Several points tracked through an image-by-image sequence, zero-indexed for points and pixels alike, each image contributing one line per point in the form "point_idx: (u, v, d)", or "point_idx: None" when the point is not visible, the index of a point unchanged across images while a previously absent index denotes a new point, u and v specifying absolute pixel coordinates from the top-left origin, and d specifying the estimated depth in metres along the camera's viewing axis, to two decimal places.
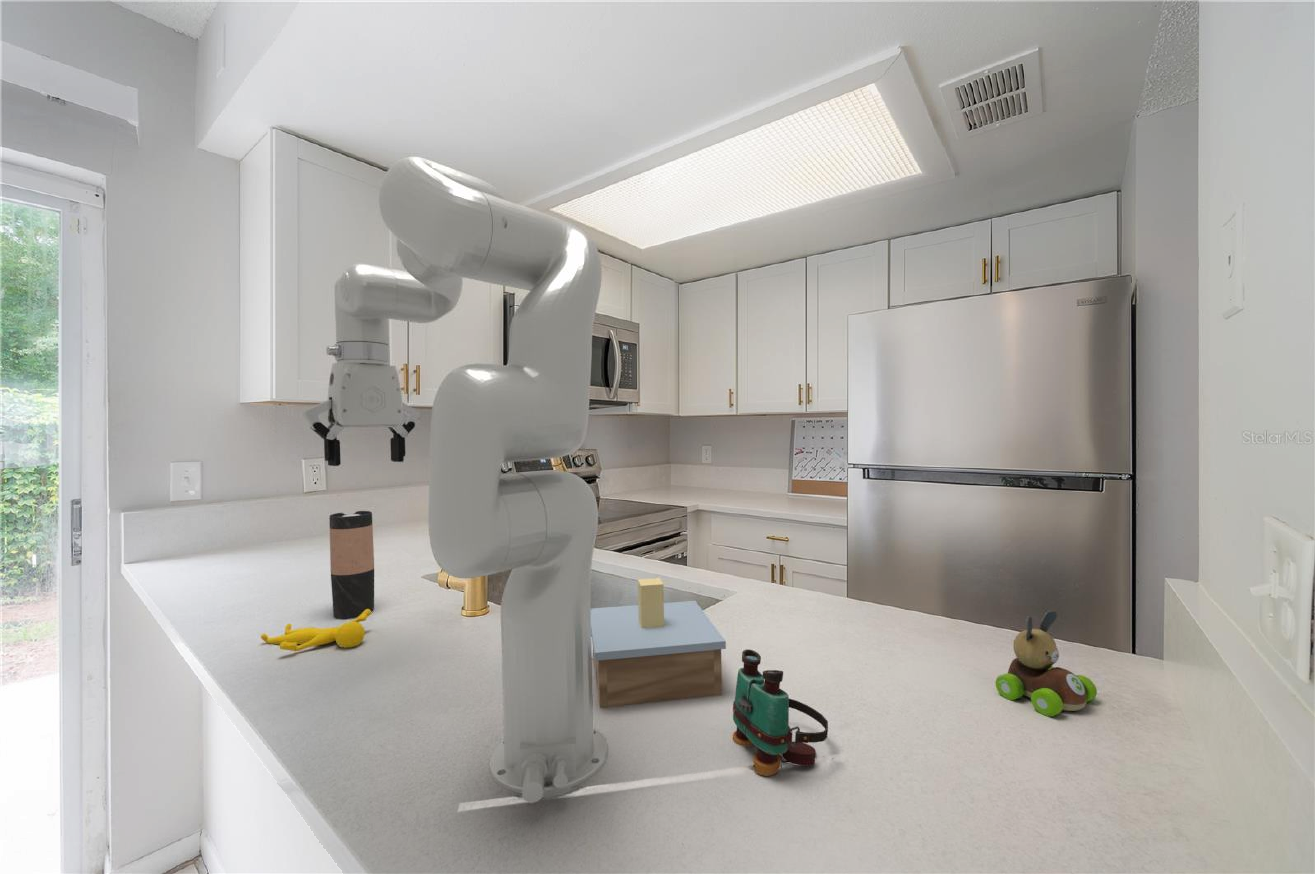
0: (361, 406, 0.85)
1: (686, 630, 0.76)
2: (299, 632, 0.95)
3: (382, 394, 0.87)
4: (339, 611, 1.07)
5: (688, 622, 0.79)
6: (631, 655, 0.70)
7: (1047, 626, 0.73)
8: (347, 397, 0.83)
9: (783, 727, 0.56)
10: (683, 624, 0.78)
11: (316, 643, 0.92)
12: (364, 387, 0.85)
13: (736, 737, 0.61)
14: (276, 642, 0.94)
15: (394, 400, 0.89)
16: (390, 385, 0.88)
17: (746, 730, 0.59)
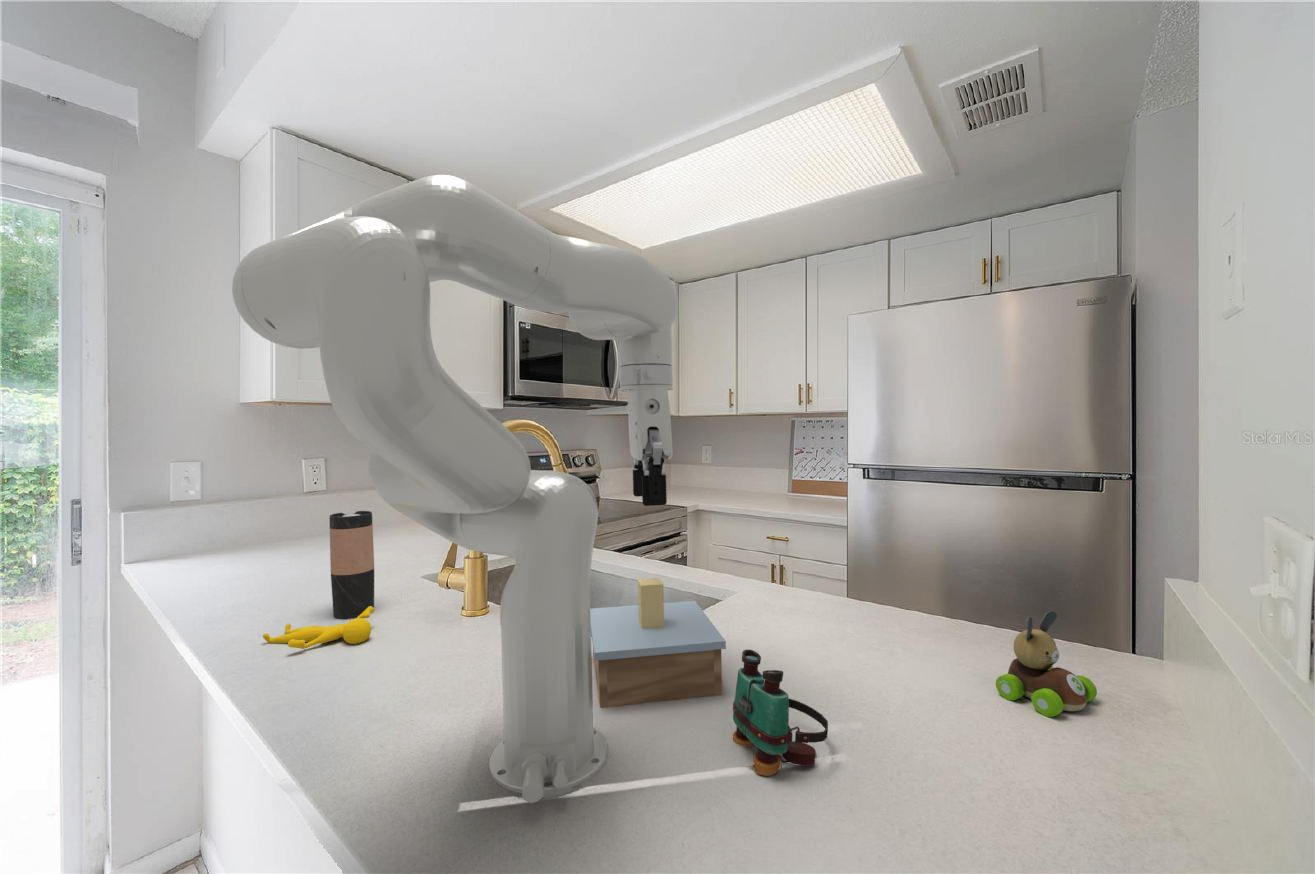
0: None
1: (686, 630, 0.76)
2: (303, 630, 0.95)
3: None
4: (339, 611, 1.07)
5: (688, 622, 0.79)
6: (631, 655, 0.70)
7: (1047, 626, 0.73)
8: None
9: (783, 727, 0.56)
10: (683, 624, 0.78)
11: (323, 640, 0.93)
12: None
13: (736, 737, 0.61)
14: (279, 641, 0.95)
15: None
16: None
17: (746, 730, 0.59)
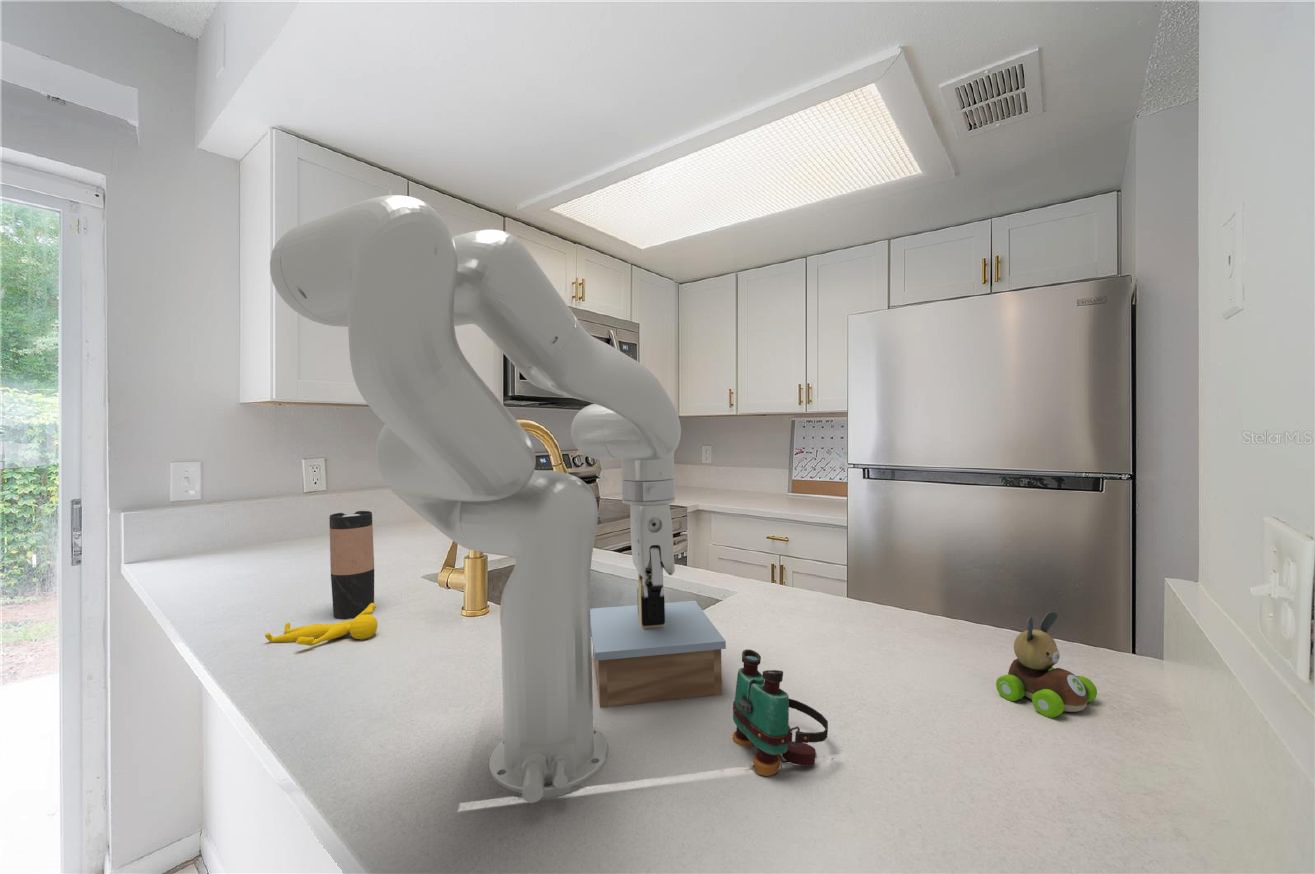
0: None
1: (686, 630, 0.76)
2: (307, 628, 0.96)
3: None
4: (339, 611, 1.07)
5: (688, 622, 0.79)
6: (631, 655, 0.70)
7: (1047, 627, 0.72)
8: None
9: (783, 727, 0.56)
10: (683, 624, 0.78)
11: (331, 636, 0.94)
12: None
13: (736, 737, 0.61)
14: (282, 640, 0.95)
15: None
16: None
17: (746, 730, 0.59)
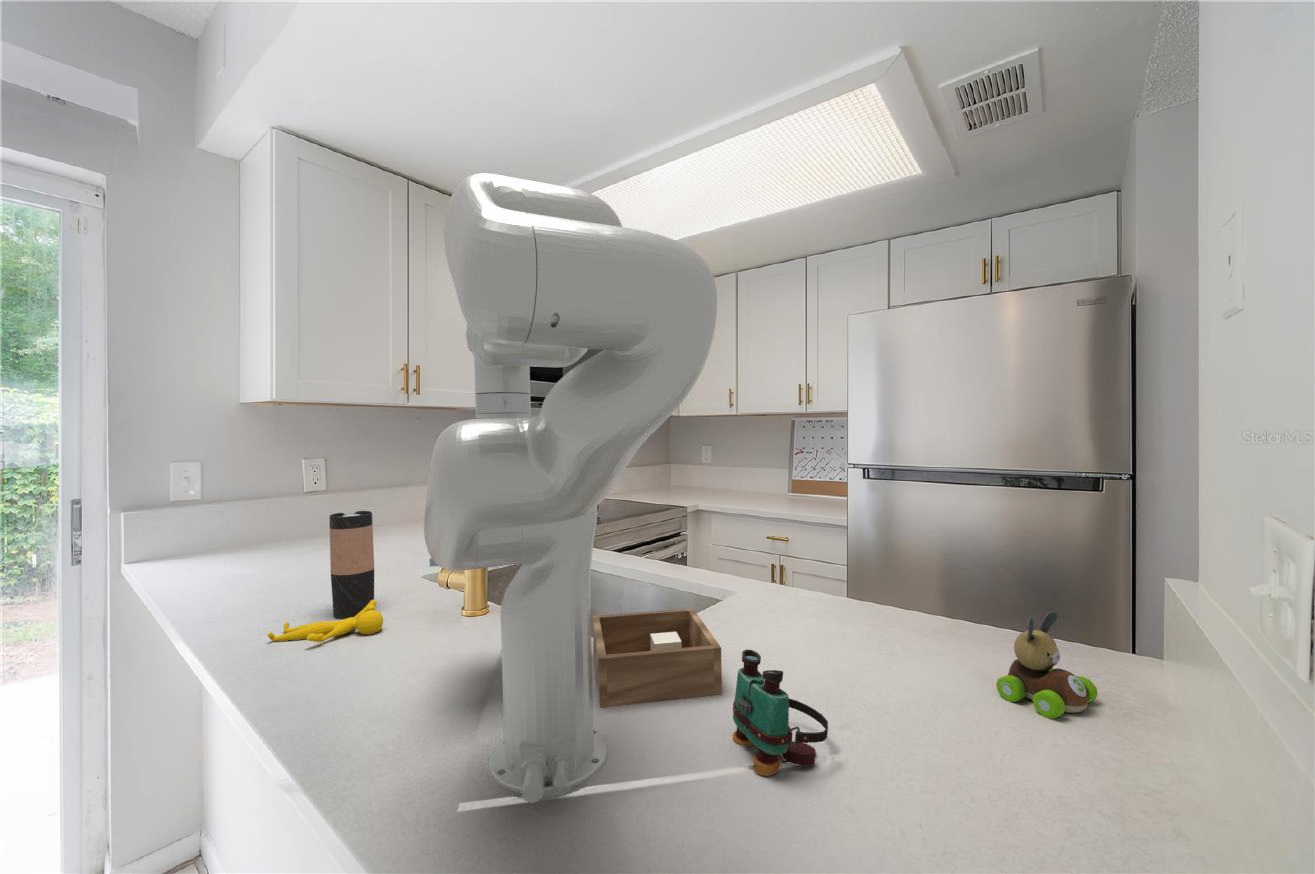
0: None
1: None
2: (312, 626, 0.97)
3: None
4: (339, 611, 1.07)
5: None
6: None
7: (1048, 627, 0.72)
8: None
9: (783, 727, 0.56)
10: None
11: (338, 633, 0.96)
12: None
13: (736, 737, 0.61)
14: (286, 639, 0.96)
15: None
16: None
17: (746, 730, 0.59)
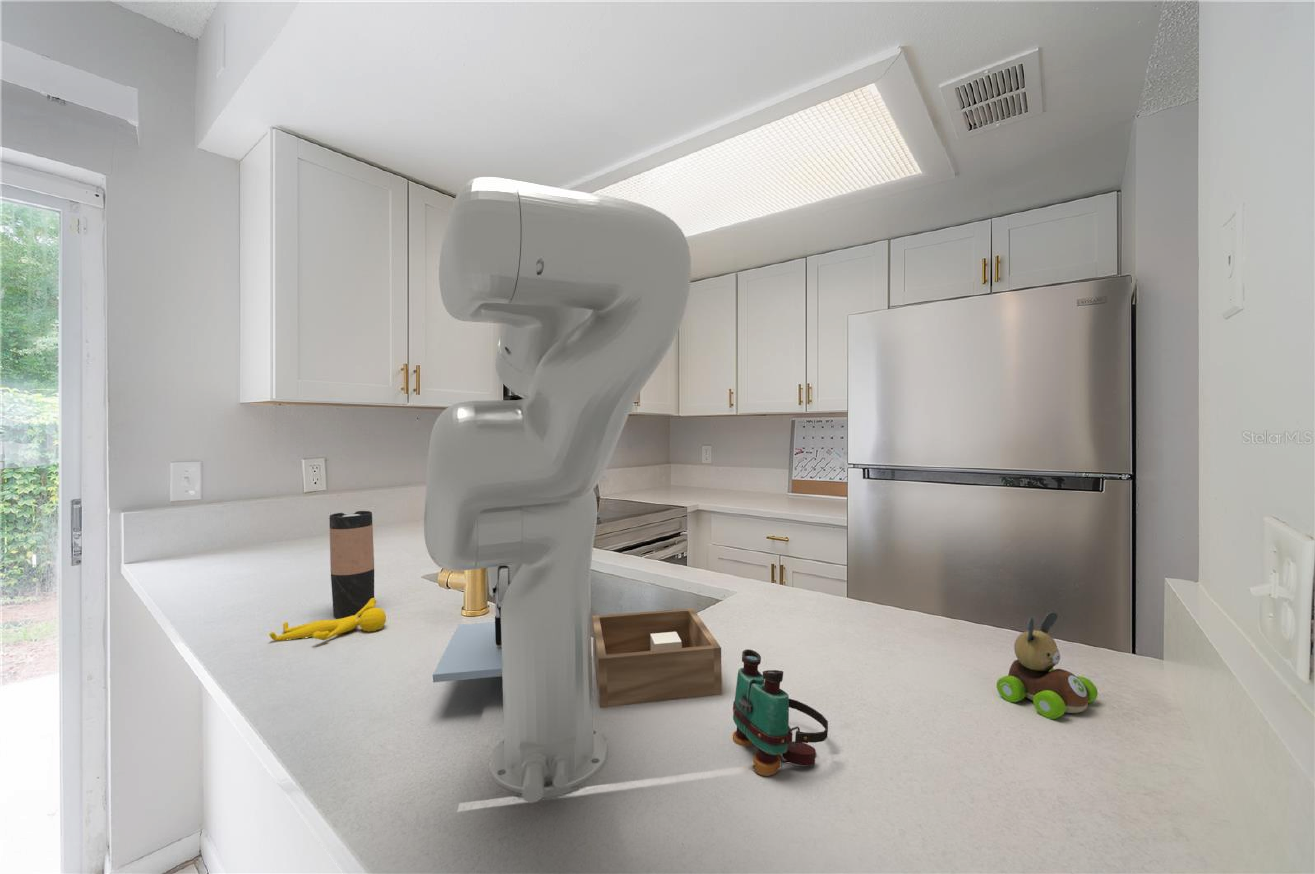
0: None
1: None
2: (314, 625, 0.98)
3: None
4: (339, 611, 1.07)
5: None
6: (471, 677, 0.70)
7: (1048, 627, 0.72)
8: None
9: (783, 727, 0.56)
10: None
11: (342, 630, 0.97)
12: None
13: (736, 737, 0.61)
14: (288, 638, 0.96)
15: None
16: None
17: (746, 730, 0.59)
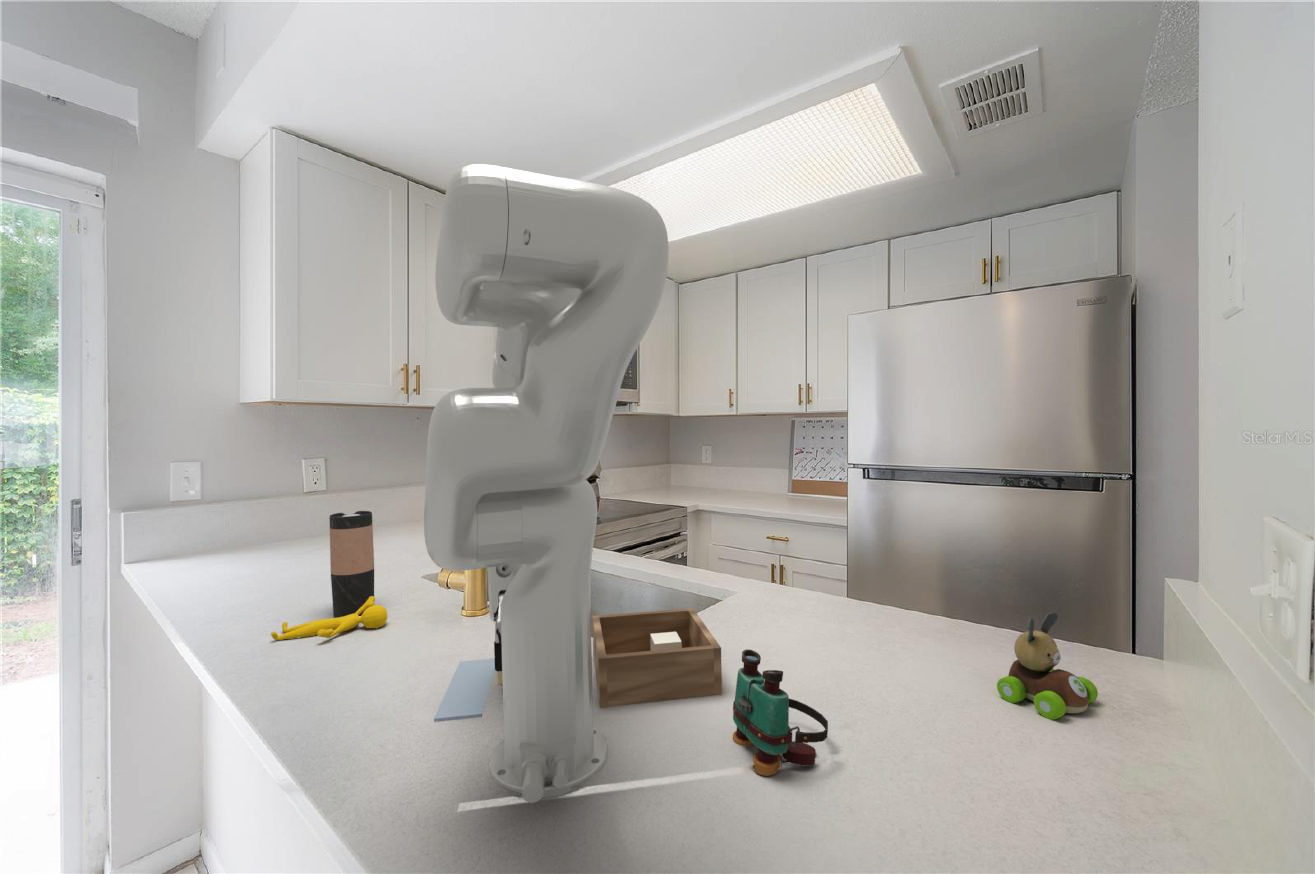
0: None
1: None
2: (316, 623, 0.99)
3: None
4: (339, 611, 1.07)
5: None
6: None
7: (1048, 628, 0.72)
8: None
9: (783, 727, 0.56)
10: None
11: (345, 628, 0.98)
12: None
13: (736, 737, 0.61)
14: (290, 637, 0.97)
15: None
16: None
17: (746, 730, 0.59)
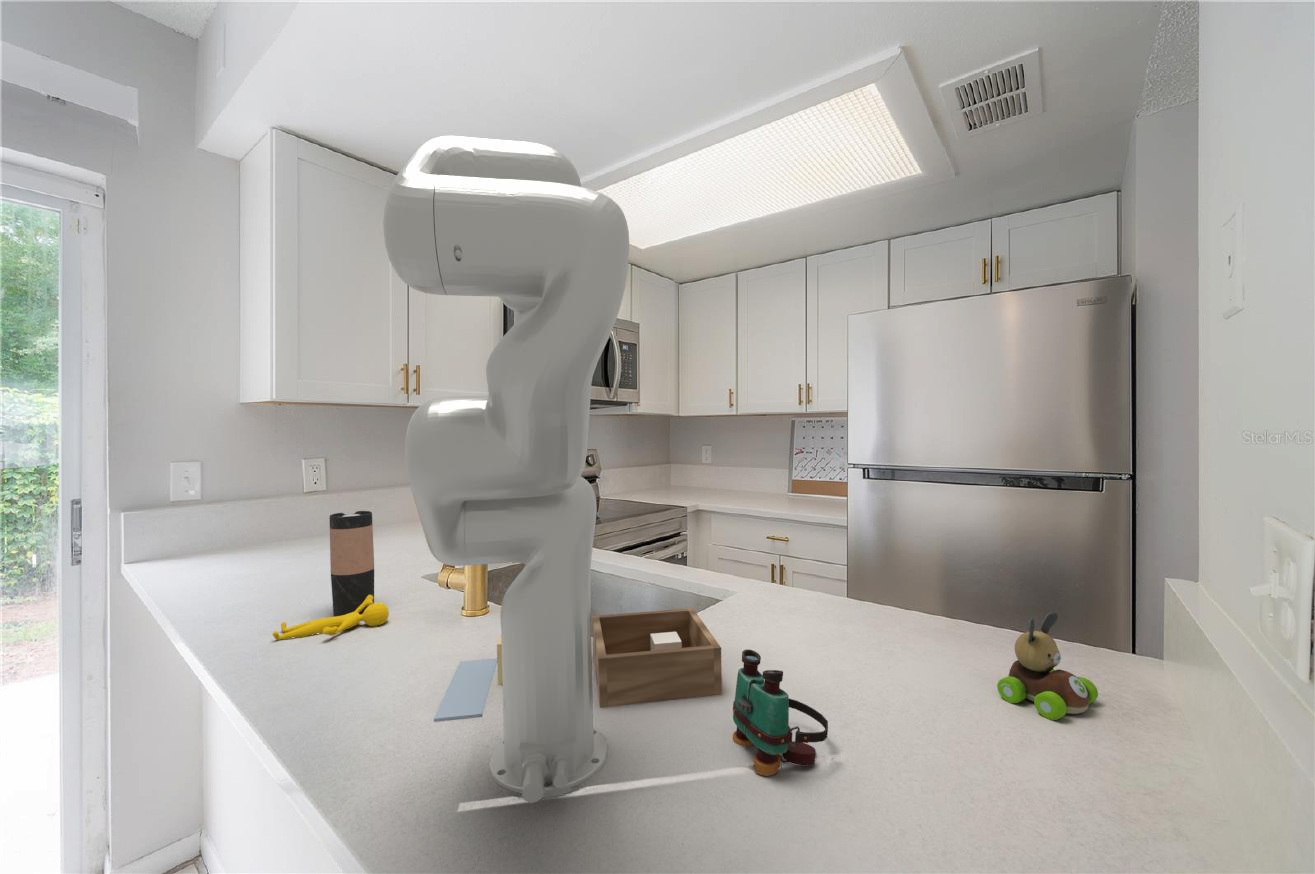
0: None
1: None
2: (317, 622, 0.99)
3: None
4: (339, 611, 1.07)
5: None
6: None
7: (1048, 628, 0.72)
8: None
9: (783, 727, 0.56)
10: None
11: (348, 626, 1.00)
12: None
13: (736, 737, 0.61)
14: (292, 636, 0.97)
15: None
16: None
17: (746, 730, 0.59)
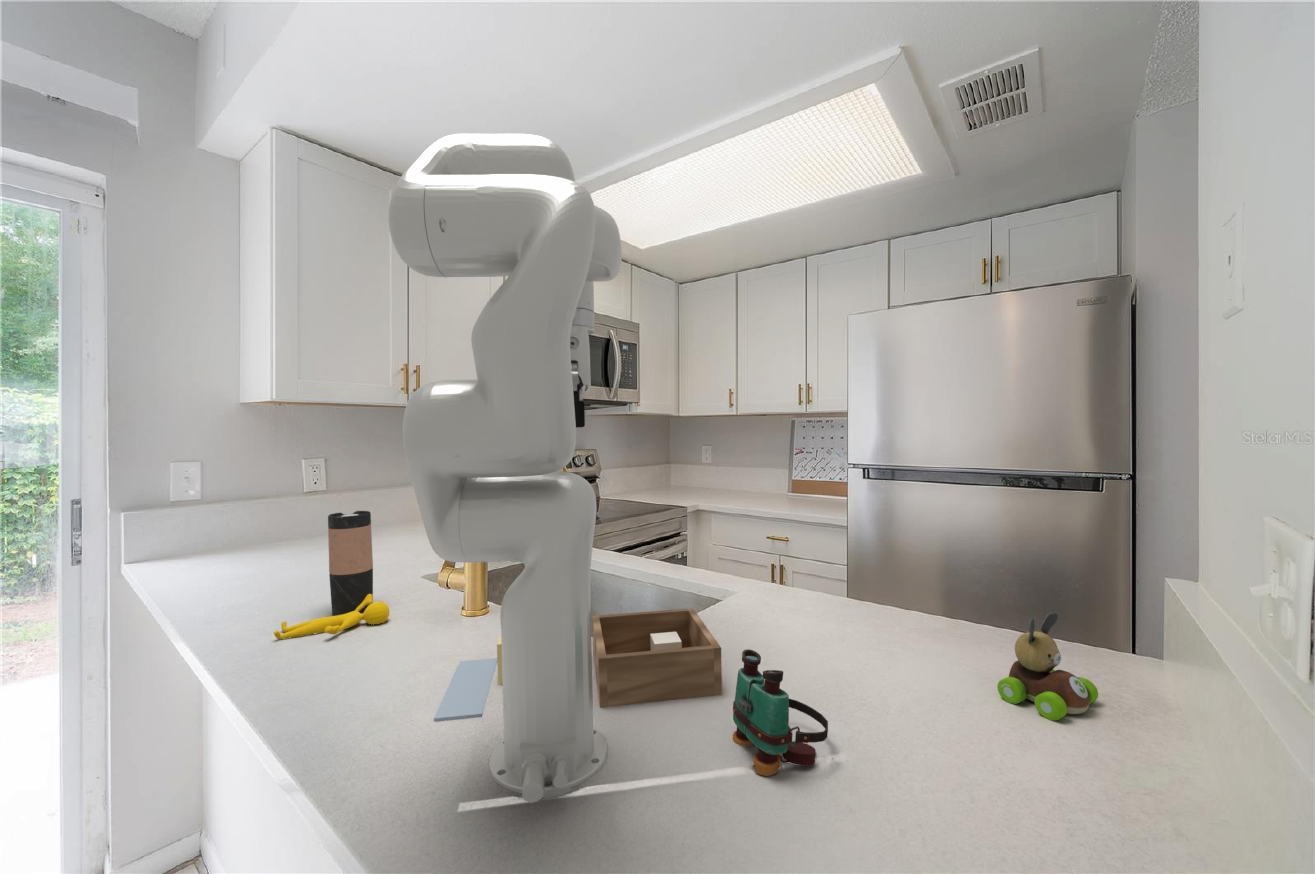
0: None
1: None
2: (319, 621, 1.00)
3: None
4: (338, 610, 1.07)
5: None
6: None
7: (1048, 628, 0.72)
8: None
9: (783, 727, 0.56)
10: None
11: (349, 624, 1.00)
12: None
13: (736, 737, 0.61)
14: (293, 635, 0.97)
15: None
16: None
17: (746, 730, 0.59)
